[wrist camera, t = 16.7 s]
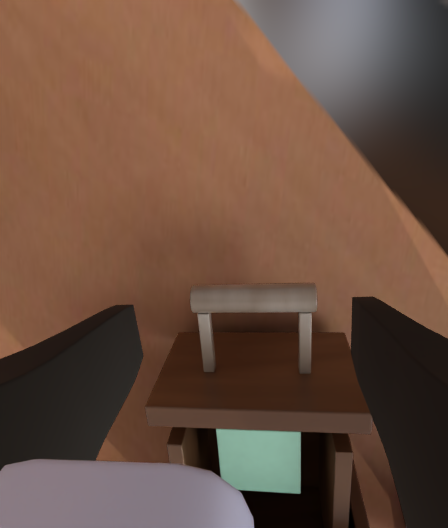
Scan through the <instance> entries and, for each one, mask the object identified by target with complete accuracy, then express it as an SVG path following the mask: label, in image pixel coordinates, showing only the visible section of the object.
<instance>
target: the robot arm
mask: <svg viewBox="0 0 448 528" xmlns="http://www.w3.org/2000/svg"><path fill="white" fill-rule="evenodd" d="M351 356H352V360H353V364H354V369H355V373H356V376H357V380H358V383H359V386H360V388H361V391H362V393H363V396H364V398H365V401H366V404H367V406H368V409H369V411H370V414H371V416H372V419H373V421H374V424H375V426H376V429H377V431H378V434H379V436H380V439H381V441H382V444H383V446H384V449H385V452H386V455H387V458H388V461H389V465H390V468H391V472H392V475H393V479H394V483H395V486H396V490H397V493H398V497H399V501H400V505H401V508H402V512H403V516H404V520H405V524H406V528H448V339H447V338H445V337H444V336H442V335H440V334H438V333H436V332H434V331H432V330H430V329H428V328H426V327H424V326H423V325H421V324H419V323H417V322H415V321H414V320H412V319H410V318H409V317H407V316H405V315H404V314H402V313H400V312H399V311H397V310H395V309H394V308H392V307H391V306H389V305H387V304H386V303H384V302H382V301H381V300H379V299H377V298H375V297H352V332H351ZM142 359H143V351H142V346H141V341H140V336H139V331H138V326H137V321H136V316H135V311H134V306H133V305H115V306H112V307H110V308H108V309H105V310H103V311H101V312H99V313H97V314H95V315H93V316H91V317H89V318H87V319H86V320H84V321H82V322H80V323H78V324H76V325H74V326H72V327H70V328H69V329H67V330H65V331H63V332H61V333H58V334H56V335H54V336H52V337H50V338H48V339H46V340H44V341H42V342H40V343H38V344H36V345H34V346H31V347H29V348H27V349H24V350H22V351H20V352H17V353H14V354H12V355H9V356H7V357H4V358H2V359H0V528H254V520H253V516H252V514H251V512H250V510H249V508H248V506H247V504H246V502H245V500H244V497H243V495H242V493H241V492H240V491H238V490H237V489H236V488H235V487H233V486H232V485H230V484H229V483H228V482H226V481H225V480H223V479H222V478H221V477H219V476H218V475H216V474H215V473H213V472H212V471H210V470H205V469H201V468H197V467H192V466H188V465H184V464H179V463H150V462H119V461H96V458H97V455H98V453H99V450H100V448H101V446H102V444H103V442H104V440H105V438H106V436H107V434H108V432H109V430H110V428H111V426H112V424H113V422H114V420H115V419H116V417H117V415H118V413H119V411H120V409H121V407H122V405H123V403H124V401H125V400H126V398H127V396H128V394H129V392H130V390H131V388H132V386H133V384H134V382H135V379H136V377H137V374H138V371H139V368H140V365H141V362H142Z"/></svg>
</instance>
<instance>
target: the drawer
mask: <svg viewBox="0 0 448 528" xmlns="http://www.w3.org/2000/svg"><path fill="white" fill-rule="evenodd" d="M190 306H191V310H192V312H193V313H198V324H199V332H179V333H178V335H177V337H176V339H175V341H174V344H173V346H172V348H171V350H170V353H169V355H168V357H167V359H166V361H165V364H164V366H163V368H162V370H161V373H160V375H159V377H158V379H157V381H156V384H155V386H154V388H153V390H152V393H151V395H150V397H149V399H148V401H147V404H146V406H145V410H146V416H147V421H148V425H149V426H160V427H172V430H171V433H170V436H169V439H168V442H167V449H168V455H169V461H170V463H179V464H184V465H188V466H192V467H197V468H201V469H205V470H210V471H212V472H213V473H215V474H216V475H218V476H219V477H221V474H220V464H219V455H218V445H217V435H216V429H240V430H267V431H293V432H301V493H300V494H295V493H279V492H262V491H246V490H238V491H240V492H241V493H242V495H243V497H244V500H245V502H246V504H247V506H248V508H249V510H250V512H251V514H252V516H253V520H254V528H348V523H349V507H350V492H351V476H352V461H353V451H352V447H351V443H350V439H349V435H348V434H371V433H372V422H373V419H372V416H371V414H370V411H369V409H368V406H367V404H366V401H365V398H364V396H363V393H362V391H361V388H360V386H359V383H358V380H357V376H356V373H355V369H354V364H353V360H352V356H351V350H350V347H349V344H348V341H347V338H346V335H345V333H311V332H312V313H311V312H316V310H317V289H316V284H315V283H272V284H217V285H193V286H192V288H191V292H190ZM262 312H298V333H297V332H213V329H212V318H211V313H262Z"/></svg>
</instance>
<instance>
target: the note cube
mask: <svg viewBox="0 0 448 528" xmlns="http://www.w3.org/2000/svg"><path fill="white" fill-rule="evenodd" d="M216 435H217V445H218V455H219V464H220V474H221V478H222V479H223V480H225V481H226V482H228V483H229V484H230V485H232V486H233V487H235V488H236V489H237V490H246V491H262V492H279V493H295V494H300V493H301V432H293V431H267V430H240V429H216Z"/></svg>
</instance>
